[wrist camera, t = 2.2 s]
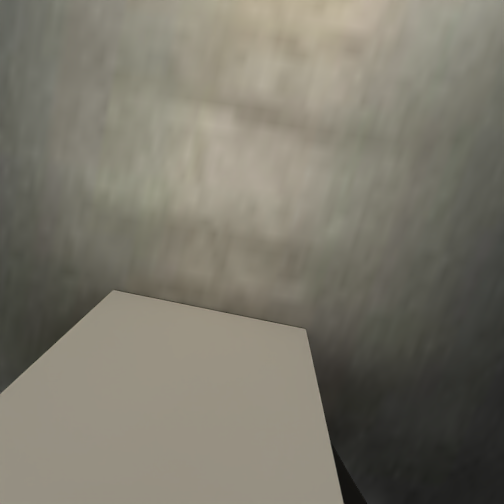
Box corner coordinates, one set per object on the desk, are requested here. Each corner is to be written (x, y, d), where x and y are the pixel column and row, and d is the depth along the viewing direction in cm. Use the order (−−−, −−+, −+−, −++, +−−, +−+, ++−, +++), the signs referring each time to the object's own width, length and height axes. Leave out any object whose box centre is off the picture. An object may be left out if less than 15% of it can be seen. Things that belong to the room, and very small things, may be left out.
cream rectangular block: (305, 328, 10) (378, 663, 3) (265, 480, 11) (263, 913, 5) (113, 289, 10) (-180, 559, 3) (96, 446, 11) (-132, 846, 5)
